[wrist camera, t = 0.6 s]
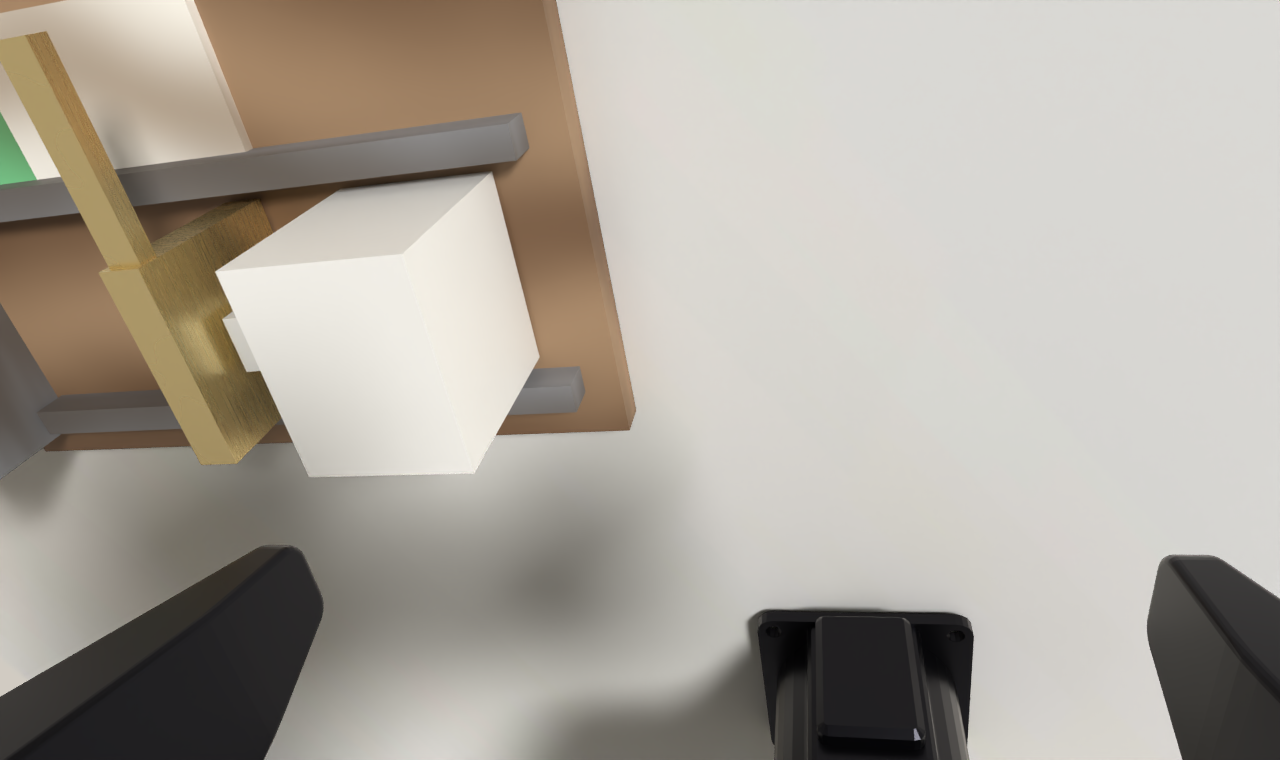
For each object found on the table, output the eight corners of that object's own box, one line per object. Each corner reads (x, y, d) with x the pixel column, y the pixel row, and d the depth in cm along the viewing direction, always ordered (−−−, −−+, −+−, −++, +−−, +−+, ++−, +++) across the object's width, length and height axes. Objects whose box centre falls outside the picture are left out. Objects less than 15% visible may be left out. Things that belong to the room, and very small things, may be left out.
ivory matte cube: (539, 356, 21) (474, 473, 17) (338, 368, 23) (232, 479, 19) (491, 171, 19) (402, 253, 15) (269, 196, 20) (129, 279, 16)
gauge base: (636, 410, 23) (577, 590, 17) (68, 434, 28) (-130, 582, 22) (521, -177, 16) (357, -210, 10) (-209, -14, 21) (-610, 27, 15)
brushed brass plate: (329, 369, 23) (236, 463, 19) (298, 371, 23) (200, 464, 19) (180, 4, 18) (19, 36, 14) (143, 11, 18) (-24, 44, 15)
